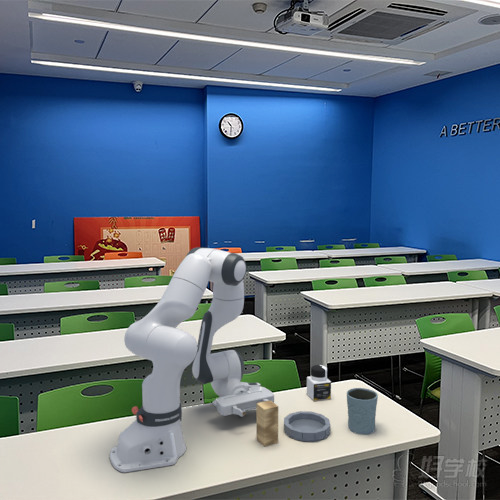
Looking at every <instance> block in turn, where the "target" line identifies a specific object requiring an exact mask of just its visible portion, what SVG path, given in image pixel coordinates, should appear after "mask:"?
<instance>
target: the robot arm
mask: <svg viewBox="0 0 500 500" xmlns="http://www.w3.org/2000/svg"><path fill="white" fill-rule="evenodd" d="M246 273H247V262H246V260H245V259H244V257H243V256H242V255H240V254H238V253H235V252H230V251H225V250H221V249H218V248H212V247H211V248H210V247H203V246H201V247H200V246H197V247H194V248H192V249H190V250H189V251H188V253H187V254H186V255H185V258H183V260H182V261H181V262H180V264H179V265H178V267H177V268H176V270H175V272H174V273H173V275H172V277H171V280H170V282H169V283H168V285H167V286H166V289H165V290H164V292H163V295H162V296H161V298H160V300H159V301H158V302H157V304H155V306H154V307H152V309H151V310H150V311H149V312H148V314H147V313H146V315H145V316H144V317H143V318H141V319H139V320H138V321H135V322H133V323H132V324H130V325H129V326H128V327H127V329H126V331H125V335H124V340H123V341H124V346H125V348H126V349H127V350H128V351H129V352H131V353H132V354H133V355H135V356H137V357H138V358H142V359H146V360H148V361H151V362H152V366H153V367H152V372H151V373H150V374H148V375H147V376H146V377H145V378H144V379H143V381H142V384H141V389H142V390H141V391H142V396H141V397H142V405H141V407H140V408H139V407H138V406H137V405H135V406H132V408H131V412H132V413H133V415H135V416H136V417H135V420H134V421H133V422H132V423H131V424H129V425H128V426H127V427H126V428H125V429H123V431H121V433H120V434H119V437H118V440H117V445H116V446H114V447H112V448H111V449H110V452H109V461H110V464H111V465H112V466H113V467H114V469H115V470H116V471H119V472H121V473H129V472H136V471H137V472H138V471H143V470H148V469H155V468H161V467H168V466H173V465H175V464H176V463H177V461H178V459H179V458H180V457H182V455H184V453H186V451H187V445H186V442H185V438H184V434H183V430H182V429H183V428H182V417H183V409H182V403H181V399H180V398H181V379H182V375H183V373H184V370H185V369H186V368H187V367H188V366H189V365H191V364H192V366H191V367H192V369H191V371H192V376H193V378H194V380H196V381H197V382H199V383H200V384H202V385H207V384H210V385H211V388H212V390H213V391H214V393H215V394H216V395H217V396H218V397H217V398H215V399H214V400H213V401H212V405H213V406H214V407H216V410H217V412H218V414H220V415H221V416H223V417H224V416H230V415H238V416H239V417H245V416H246V411H251V410H255V409H256V410H257V403H260V402H265V401H269V400H271V401H272V402H273V403H275V394H274V393H273V392H272V391H271V390H270V389H268V388H266V387H265V386H261V383H259V382H246V381H245V382H244V381H242V379H243V377H244V372H245V362H244V359H243V357H242V356H241V354H240V353H239V352H238V351H236V350H235V349H230V350H223V351H220V352H214V353H211V351H212V347H213V340H214V336H215V335H216V333H217V331H219V330H220V329H221V328H222V327H224V326H226V325H228V324H230V323H231V322H234V321H235V320H236V319H237V318H238V317H239V316H240V315H241V314H242V312H243V309H244V304H245V284H244V279H245V277H246V275H247V274H246ZM209 282H211V283H213V287H212V288H213V290H212V300H211V304H210V307H209V308H208V310H207V311H206V312H204V314H203V316H202V318H201V319H202V320H201V324H200V328H199V334H198V340H196V337H194V335H192V334H190V333H189V332H187V331H186V330H183V329H182V328H177V327H178V326H179V325H180V324H181V323H183V322H184V321H187V320H188V319H189V320H190V319H191V318H192V317H193V316H194V315H195V313H196V312H197V309H198V307H199V305H200V303H201V300H202V298H203V296H204V293H205V292H206V289H207V287H208V284H209Z"/></svg>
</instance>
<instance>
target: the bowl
mask: <svg viewBox="0 0 500 500" xmlns="http://www.w3.org/2000/svg"><path fill="white" fill-rule="evenodd" d="M283 431H284V433H285V435H286V436H288V437H289V438H290V439H293V440H295V441H298V442H304V443H305V442H307V443H311V442H312V443H314V442H319V441H322V440H325V439H327V438H328V437H329V436H330V433H331V421H330V419H329V418H328V417H326V416H325V415H324V414H322V413H319V412H314V411H307V410H306V411H305V410H304V411H303V410H302V411H301V410H300V411H296V412H295V411H294V412H292V413H289V414H287V415H286V416H285V417H284V418H283Z"/></svg>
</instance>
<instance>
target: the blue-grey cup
mask: <svg viewBox="0 0 500 500" xmlns="http://www.w3.org/2000/svg"><path fill="white" fill-rule="evenodd" d="M378 395H379V394H378V393H377V392H376V391H375V390H372V389H369V388H362V387H354V388H351V389H350V388H349V389H347V391H346V405H347V406H346V407H347V416H348V417H347V418H348V419H347V423H348V424H347V426H348V427H347V428H348V430H349V431H351V432H353V433H354V434H357V435H370V434H373V433H374V431H375V429H376V416H377V414H376V413H377V404H378V399H379V396H378Z"/></svg>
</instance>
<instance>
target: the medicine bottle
mask: <svg viewBox="0 0 500 500" xmlns="http://www.w3.org/2000/svg"><path fill="white" fill-rule="evenodd" d="M306 395H307V396H308V397H309V398H310V399H311V400H312V401H313V402H319V401H320V402H321V401H328V400H332V399H331V398H332V397H331V396H332V381H331V380H330V379H329V378H328V367H327V366H325V365H322V364H314V365H312V366H311V367H310V376H307V377H306Z"/></svg>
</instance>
